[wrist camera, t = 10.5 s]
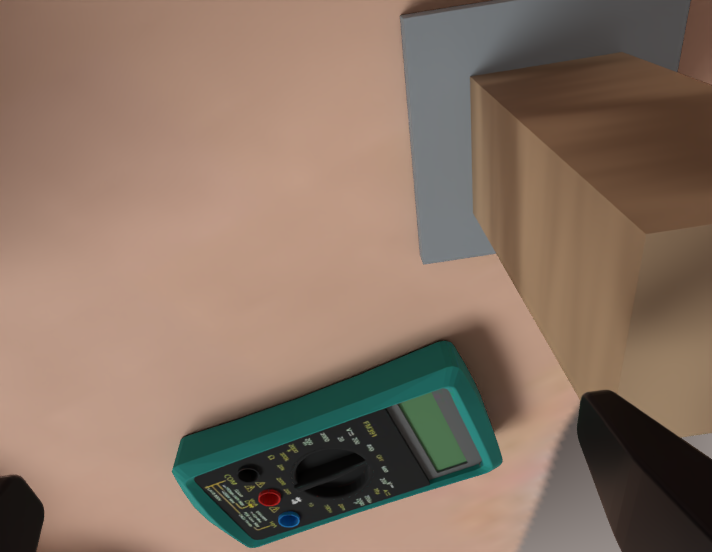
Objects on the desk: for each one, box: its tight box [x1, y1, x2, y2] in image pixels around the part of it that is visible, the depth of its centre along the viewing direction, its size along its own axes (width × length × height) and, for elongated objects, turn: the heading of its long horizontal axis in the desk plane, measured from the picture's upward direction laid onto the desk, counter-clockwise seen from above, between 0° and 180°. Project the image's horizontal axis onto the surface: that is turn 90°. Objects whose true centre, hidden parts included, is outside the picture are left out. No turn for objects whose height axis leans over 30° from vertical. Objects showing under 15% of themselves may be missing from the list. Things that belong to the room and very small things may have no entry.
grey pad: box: [400, 0, 691, 265], centre depth 19 cm, size 9×9×1 cm
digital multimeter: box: [172, 341, 502, 548], centre depth 27 cm, size 8×15×3 cm, turn 114°
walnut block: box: [470, 52, 712, 437], centre depth 14 cm, size 5×5×11 cm
